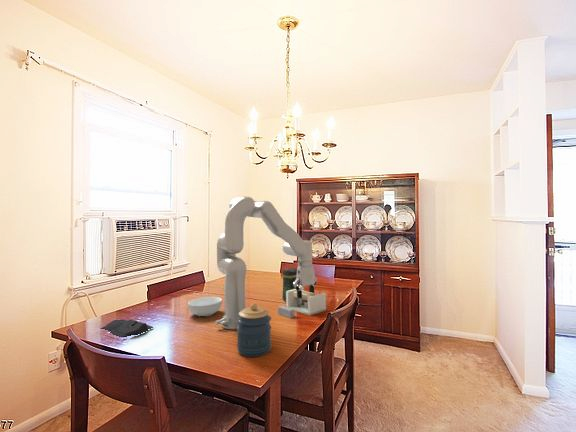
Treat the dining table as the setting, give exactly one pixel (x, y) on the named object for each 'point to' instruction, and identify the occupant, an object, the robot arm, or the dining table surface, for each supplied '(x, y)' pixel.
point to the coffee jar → (288, 280)
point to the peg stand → (311, 307)
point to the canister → (254, 331)
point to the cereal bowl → (205, 306)
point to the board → (304, 294)
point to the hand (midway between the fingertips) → (305, 296)
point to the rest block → (286, 311)
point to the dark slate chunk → (126, 327)
